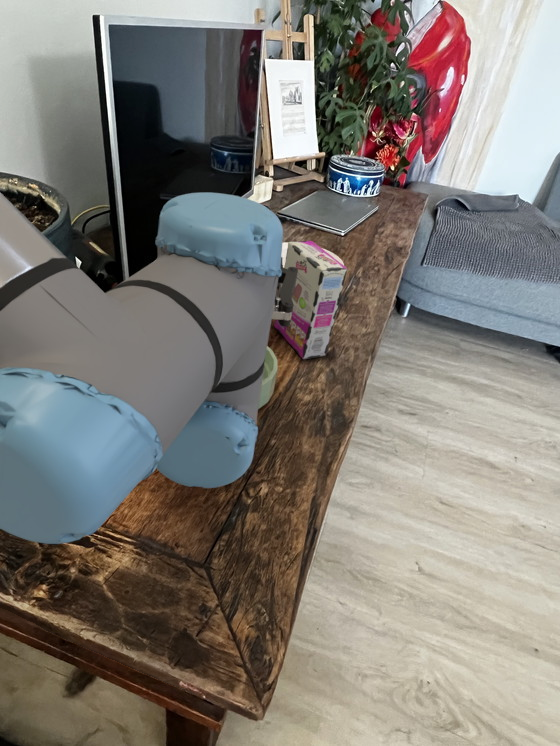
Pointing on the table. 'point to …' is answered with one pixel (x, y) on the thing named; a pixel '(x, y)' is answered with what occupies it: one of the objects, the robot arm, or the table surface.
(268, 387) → the celadon bowl
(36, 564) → the table surface
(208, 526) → the table surface
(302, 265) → the candy bar box
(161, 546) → the table surface
